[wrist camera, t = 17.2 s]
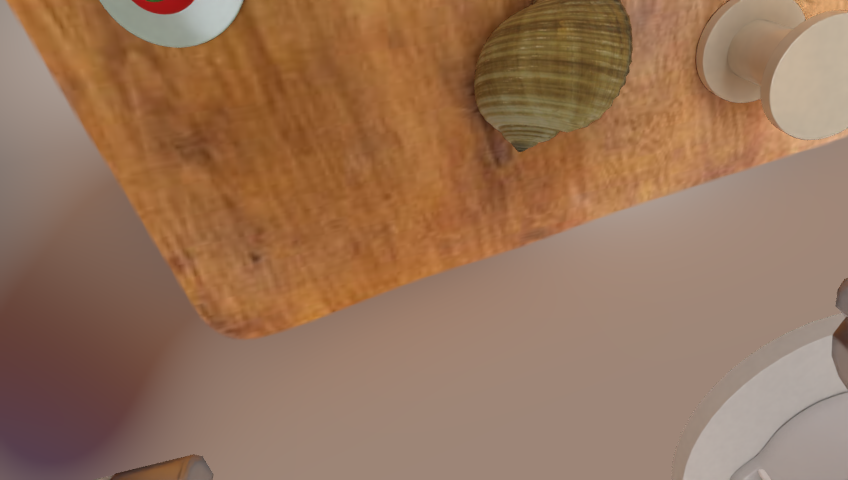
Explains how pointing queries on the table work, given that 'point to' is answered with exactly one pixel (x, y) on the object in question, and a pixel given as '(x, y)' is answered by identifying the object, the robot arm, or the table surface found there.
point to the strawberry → (163, 5)
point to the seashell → (553, 68)
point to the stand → (780, 64)
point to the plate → (176, 21)
